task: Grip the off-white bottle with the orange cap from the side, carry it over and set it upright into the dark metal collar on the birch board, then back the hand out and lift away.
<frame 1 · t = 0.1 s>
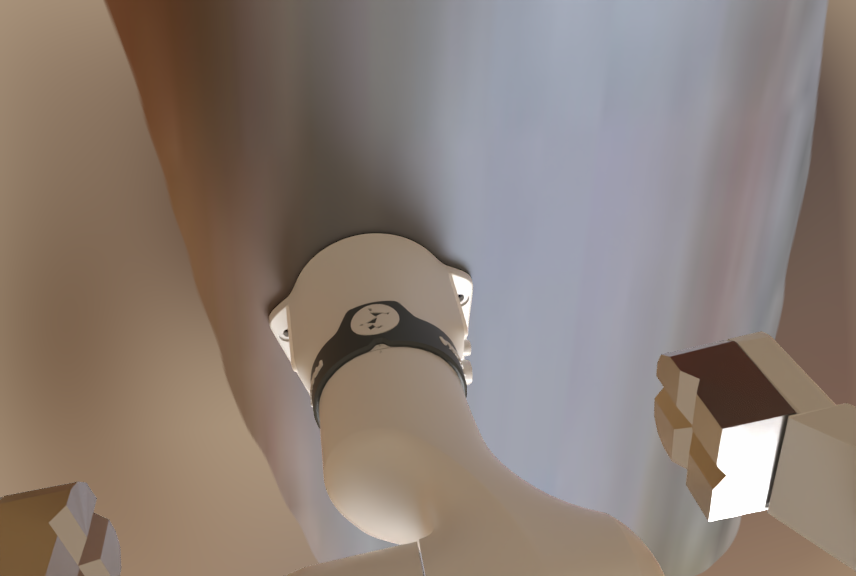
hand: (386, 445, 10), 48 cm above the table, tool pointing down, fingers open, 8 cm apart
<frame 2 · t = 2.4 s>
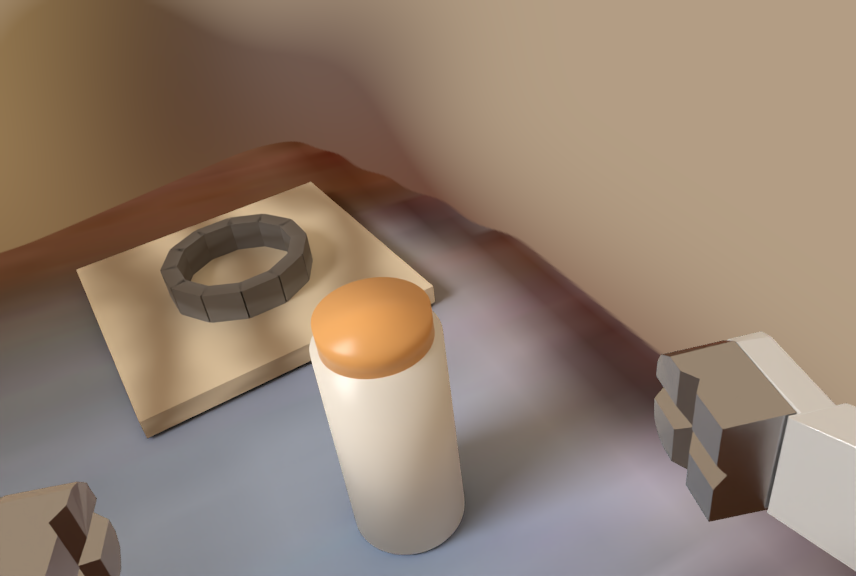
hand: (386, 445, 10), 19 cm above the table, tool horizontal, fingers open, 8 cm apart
bottle: (409, 505, 33), on the table
board: (247, 292, 48), on the table
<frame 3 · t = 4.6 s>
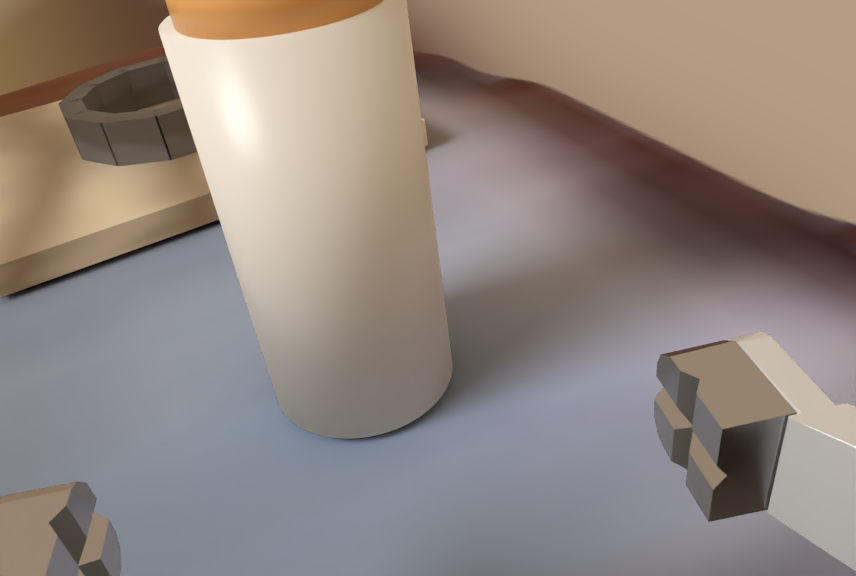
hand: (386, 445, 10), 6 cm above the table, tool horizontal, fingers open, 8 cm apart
bottle: (364, 372, 21), on the table
board: (181, 145, 36), on the table
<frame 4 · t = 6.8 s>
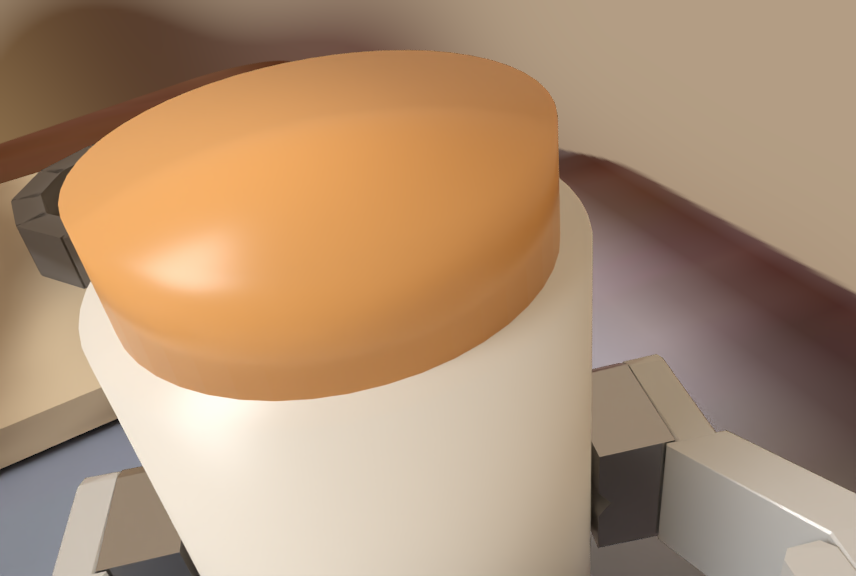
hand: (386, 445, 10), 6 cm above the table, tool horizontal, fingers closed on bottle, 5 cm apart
board: (170, 245, 29), on the table
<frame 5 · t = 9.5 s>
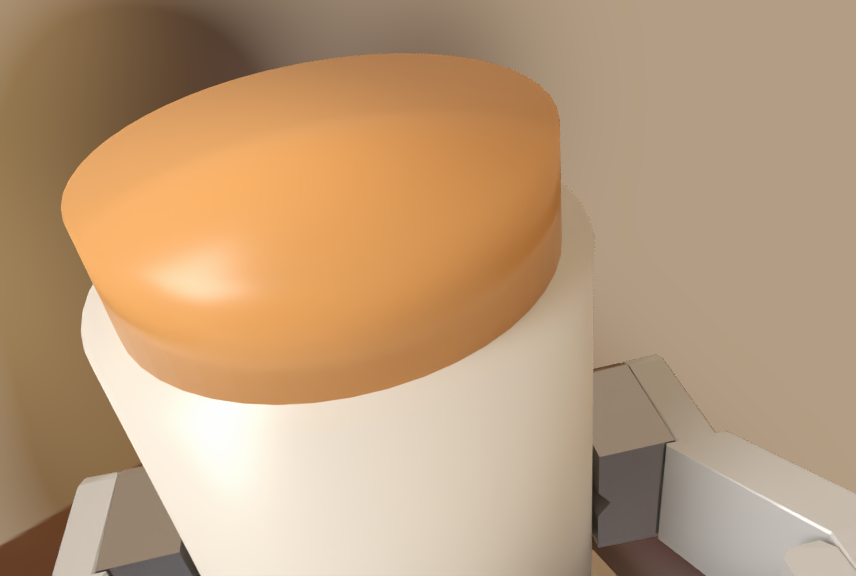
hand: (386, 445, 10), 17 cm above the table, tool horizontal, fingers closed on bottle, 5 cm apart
when the fingers open (9 cm above the table, at t = 12.2 s): bottle drops 1 cm, resting on board.
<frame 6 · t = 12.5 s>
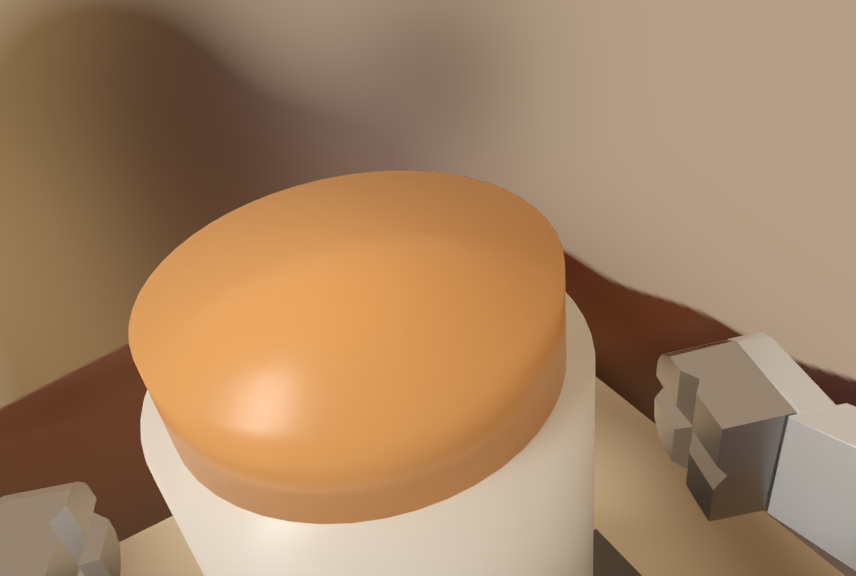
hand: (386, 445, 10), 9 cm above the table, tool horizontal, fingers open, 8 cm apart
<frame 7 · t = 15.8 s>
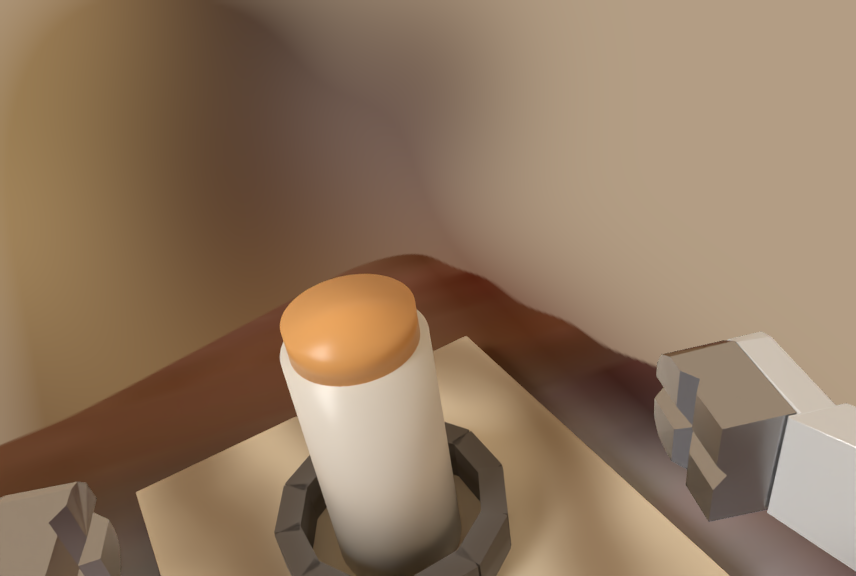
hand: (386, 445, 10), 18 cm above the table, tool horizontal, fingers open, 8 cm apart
bottle: (400, 531, 30), point 1 cm above the table, touching board
board: (403, 548, 31), on the table
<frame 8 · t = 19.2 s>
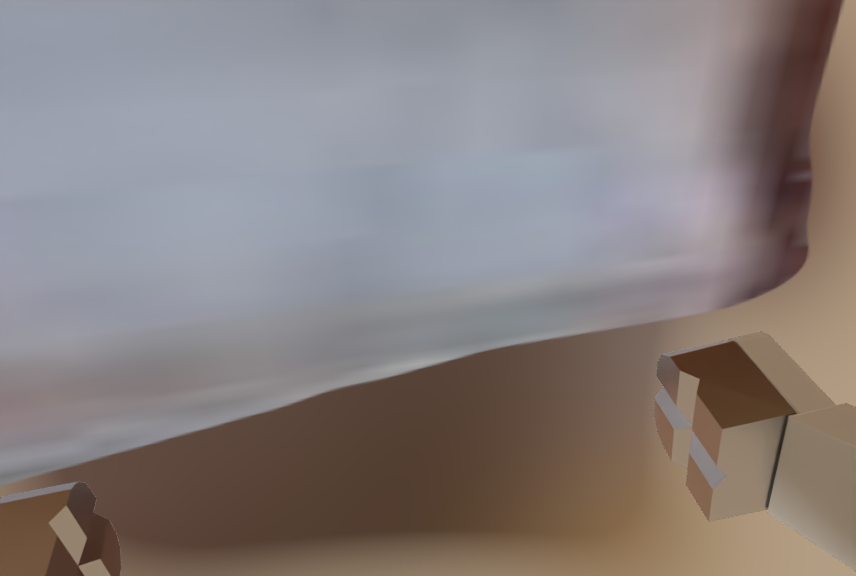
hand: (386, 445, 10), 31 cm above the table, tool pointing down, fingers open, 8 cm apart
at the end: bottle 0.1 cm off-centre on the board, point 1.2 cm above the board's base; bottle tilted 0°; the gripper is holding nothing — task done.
